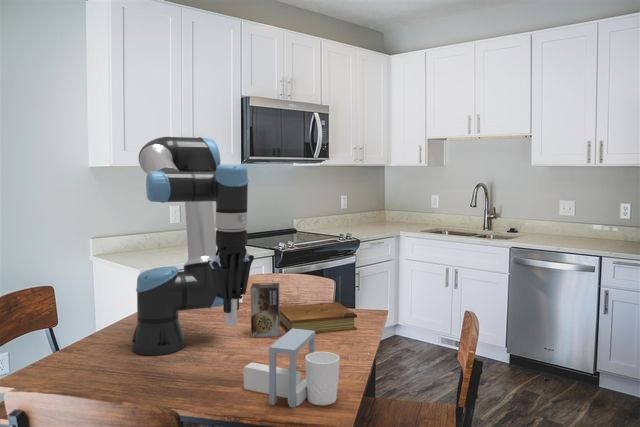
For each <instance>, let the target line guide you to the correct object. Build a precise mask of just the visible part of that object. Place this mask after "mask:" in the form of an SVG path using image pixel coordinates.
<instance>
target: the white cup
mask: <svg viewBox="0 0 640 427" xmlns="http://www.w3.org/2000/svg"><path fill="white" fill-rule="evenodd" d="M340 361H341V360H340V356H339V355H338V354H336V353H333V352H331V351H315V352H313V353H310V354H309V353H308V354H306V355H305V378H306V384H307V395H308V398H307V401H308V402H309V403H310V404H312V405H316V406H328V405H331V404H335V403H336V401H337V396H338V388H339V387H338V386H339V377H340V376H339V375H340V374H339V372H340Z"/></svg>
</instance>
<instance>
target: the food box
mask: <svg viewBox="0 0 640 427" xmlns="http://www.w3.org/2000/svg"><path fill="white" fill-rule="evenodd" d="M249 290H250V337H251V338H267V337H270V338H274V337H280V335H281V333H280V332H281V326H280V306H281V305H280V298H281V297H280V283H279V282H277V283H276V282H275V283H274V282H260V283H259V282H258V283H257V282H255V283H253V282H252V284H251V287H250V289H249Z"/></svg>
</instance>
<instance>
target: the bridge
mask: <svg viewBox="0 0 640 427" xmlns="http://www.w3.org/2000/svg"><path fill="white" fill-rule="evenodd" d="M307 344H308V354H310V353H313V352H316V334H315V331H312V330H303V329H293V328H292V329H291V330H290V331H289V332H286V333H285V334H284V335H283V336H281V337H280V338H279V339H278V340H276V341H275V342H274V343H273V344H271V345H270V346H269V348H268V349H269V350H268V356H269V357H268V359H269V361H268V362H269V363H268V365H269V394H268V396H269V398H268V404H269V405H272V406H274V405H276V403H277V396H276V367H277V354H278V355H279V354H280V355H287V356H289V357H288V358H289V361H288V362H289V404H288V407H289V408H293V409H294V408H296V407H297V406H296V371H298V370H297V365H298V364H297V360H298V359H297V356H298V352H300V351H301V350H302V349H303V348H304V347H305V346H306V345H307Z"/></svg>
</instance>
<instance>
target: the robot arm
mask: <svg viewBox="0 0 640 427" xmlns="http://www.w3.org/2000/svg"><path fill="white" fill-rule="evenodd" d="M138 153H139V154H138V163H139V165H140V167H141V169H142V171H143V172H144V173H146V174H147V175H146V181H145V187H146V188H145V190H146V192H145V193H146V198H147V200H148V201H150V202H151V203H162V204H164V203H184V207H185V209H184V210H185V224H186V241H187V244H186V245H187V257H188V258H187V261H186V262H185V263H184V265H183V271H182V270H181V271H179V268H178V267H177V266H172V265H171V266H159V267H155V268H150V269H147V270H144V271H143V272H141V273H140V274H139V275H138V276H137V278H136V289H135V292H136V298H137V299H136V302H137V303H136V306H137V307H136V310H137V312H136V313H137V314H136V315H137V318H136V319H137V321H136V326H135V330H134V333H133V336H132V339H131V351H132V352H133V353H135V354H137V355H143V356H160V355H161V356H162V355H167V354H172V353H175V352H179V351H181V350H182V349H183V348H185V344H186V342H185V340H186V339H185V335H184V333H183V329H182V327H181V323H180V322H179V311H181V312H182V311H190V310H201V309H202V310H204V309H209V310H210V309H212V308H218V307H219V308H220V307H223V309H222V310H223V313H225V315H224V318H225V319H224V320H225V322H224V324H225V325H227V326H230V327H235V326H238V311H239V310H240V300H242V299H243V295H246V293H247V288H248V285H249V284H248V282H249V277H250V272H251V267H252V265H253V264H252V263H253V261H254V259H255V256H254V255H253V254H249V253H248V252H247V249H246V246H247V244H248V231H247V230H246V229H247V228H248V193H249V190H248V188H249V185H248V184H249V178H248V177H249V176H248V168H247V167H246V166H245V165H240V164H239V165H238V164H221V154H220V150H219V147H218V145H217V143H216V141H215V140H214V139H212V138H209V137H207V138H206V137H199V136H198V137H188V136H187V137H186V136H185V137H184V136H161V137H157V138H154V139H152V140H150V141H148V142H146V144H144V145H143V146H142V147H141V149H140V150H139V152H138ZM214 202H215V213H214ZM214 214H215V215H214ZM216 229H217V230H216Z"/></svg>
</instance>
